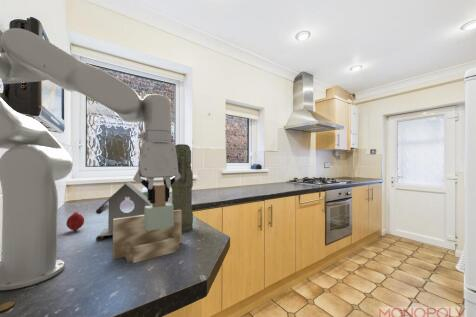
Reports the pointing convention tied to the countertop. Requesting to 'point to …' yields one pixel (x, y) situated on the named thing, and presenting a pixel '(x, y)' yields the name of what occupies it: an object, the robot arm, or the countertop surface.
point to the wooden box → (144, 238)
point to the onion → (75, 221)
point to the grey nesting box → (114, 206)
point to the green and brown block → (158, 211)
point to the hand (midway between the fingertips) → (158, 201)
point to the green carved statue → (183, 187)
